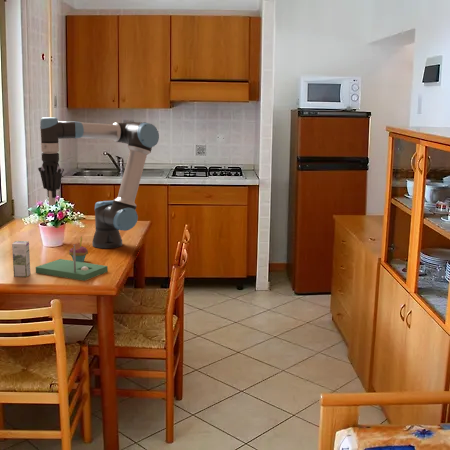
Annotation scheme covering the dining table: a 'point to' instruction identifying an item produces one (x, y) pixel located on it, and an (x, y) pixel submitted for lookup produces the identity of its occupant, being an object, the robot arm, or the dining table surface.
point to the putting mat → (71, 268)
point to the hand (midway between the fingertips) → (52, 204)
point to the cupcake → (79, 253)
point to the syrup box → (21, 258)
